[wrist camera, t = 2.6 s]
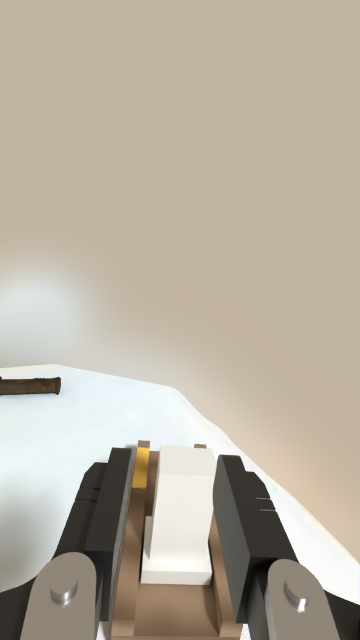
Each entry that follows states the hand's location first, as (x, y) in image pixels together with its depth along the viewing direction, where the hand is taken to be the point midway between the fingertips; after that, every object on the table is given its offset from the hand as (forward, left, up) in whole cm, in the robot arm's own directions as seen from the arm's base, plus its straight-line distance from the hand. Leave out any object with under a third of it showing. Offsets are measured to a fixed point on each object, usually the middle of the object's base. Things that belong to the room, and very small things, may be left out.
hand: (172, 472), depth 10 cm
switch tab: (-10, +13, -26) cm, 31 cm away
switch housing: (-14, +16, -28) cm, 35 cm away
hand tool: (-61, +8, -28) cm, 67 cm away
